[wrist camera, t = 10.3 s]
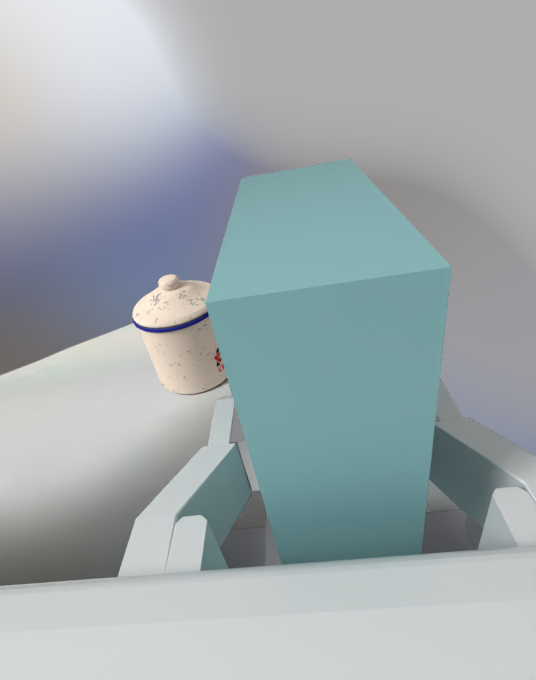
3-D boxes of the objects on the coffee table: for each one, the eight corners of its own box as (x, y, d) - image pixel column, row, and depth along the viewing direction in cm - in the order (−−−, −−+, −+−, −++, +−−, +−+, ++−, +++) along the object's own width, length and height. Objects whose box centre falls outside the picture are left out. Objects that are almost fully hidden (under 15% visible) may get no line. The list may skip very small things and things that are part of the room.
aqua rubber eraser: (315, 680, 11) (205, 301, 4) (301, 489, 16) (241, 177, 9) (408, 676, 10) (451, 266, 4) (364, 483, 15) (349, 158, 9)
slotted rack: (122, 974, 14) (64, 989, 12) (193, 542, 28) (173, 504, 25) (720, 991, 12) (809, 1012, 10) (487, 517, 26) (499, 473, 23)
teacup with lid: (241, 386, 41) (215, 287, 34) (156, 406, 40) (113, 310, 34) (232, 328, 51) (210, 242, 44) (163, 343, 50) (131, 260, 44)
